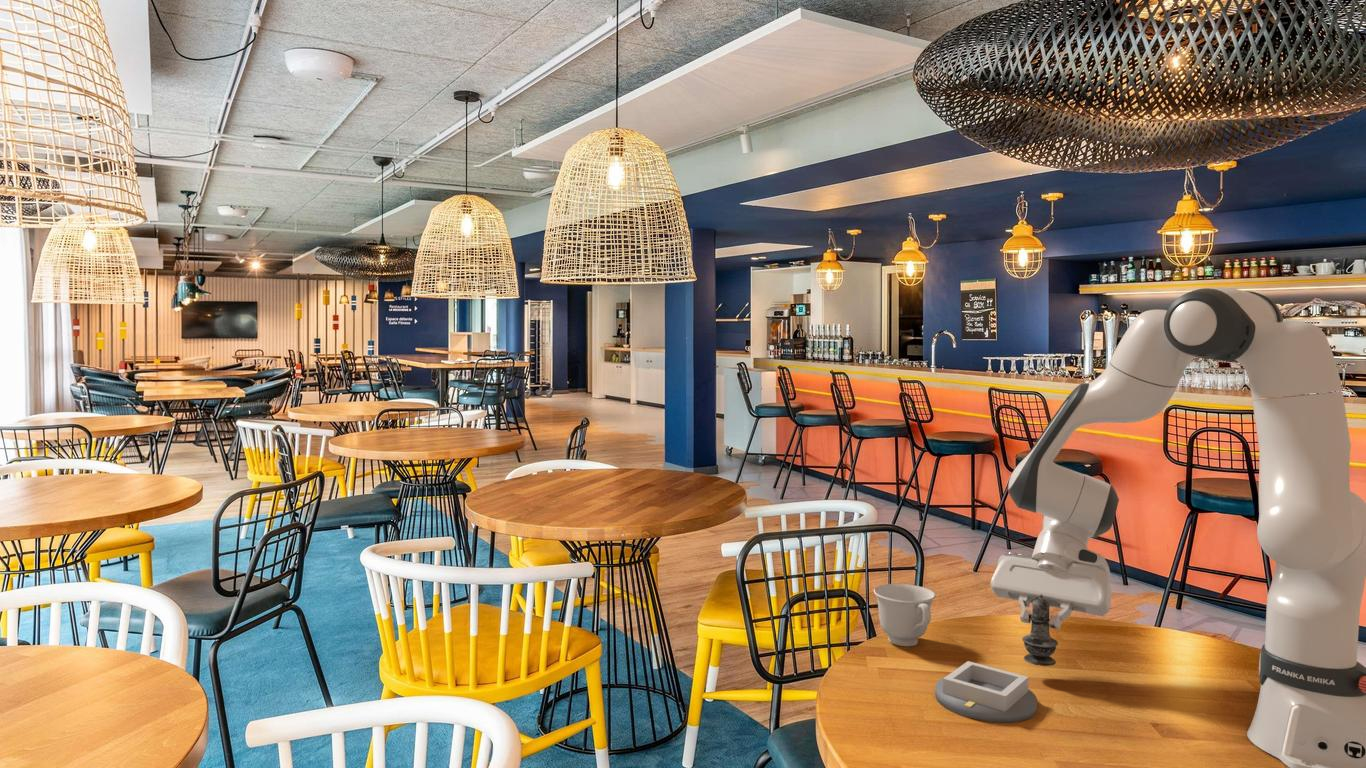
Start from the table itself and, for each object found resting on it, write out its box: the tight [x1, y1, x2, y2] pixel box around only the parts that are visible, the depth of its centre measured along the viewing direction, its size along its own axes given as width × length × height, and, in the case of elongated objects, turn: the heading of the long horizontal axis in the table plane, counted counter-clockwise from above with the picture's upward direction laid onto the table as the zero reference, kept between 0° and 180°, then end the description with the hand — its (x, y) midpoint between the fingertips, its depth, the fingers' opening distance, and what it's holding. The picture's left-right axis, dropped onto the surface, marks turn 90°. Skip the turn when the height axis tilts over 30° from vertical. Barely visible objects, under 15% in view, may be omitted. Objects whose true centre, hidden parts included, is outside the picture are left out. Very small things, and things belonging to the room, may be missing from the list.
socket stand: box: [934, 660, 1038, 724], centre depth 142 cm, size 16×16×4 cm
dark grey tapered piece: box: [1022, 594, 1059, 667], centre depth 152 cm, size 6×6×12 cm
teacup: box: [873, 583, 936, 647], centre depth 169 cm, size 12×15×10 cm
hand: (1039, 624), depth 151 cm, fingers closed on dark grey tapered piece, 4 cm apart
